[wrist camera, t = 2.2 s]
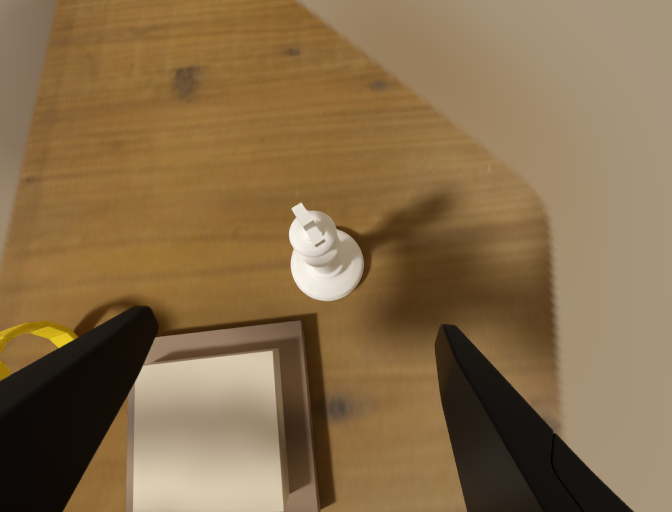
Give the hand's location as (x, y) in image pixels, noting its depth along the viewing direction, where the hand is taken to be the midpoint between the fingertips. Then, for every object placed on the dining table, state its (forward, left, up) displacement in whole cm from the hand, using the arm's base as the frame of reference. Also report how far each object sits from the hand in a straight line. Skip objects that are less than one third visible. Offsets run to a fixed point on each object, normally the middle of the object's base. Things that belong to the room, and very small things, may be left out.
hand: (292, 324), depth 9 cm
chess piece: (+4, -1, -11) cm, 11 cm away
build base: (-5, +7, -11) cm, 14 cm away
